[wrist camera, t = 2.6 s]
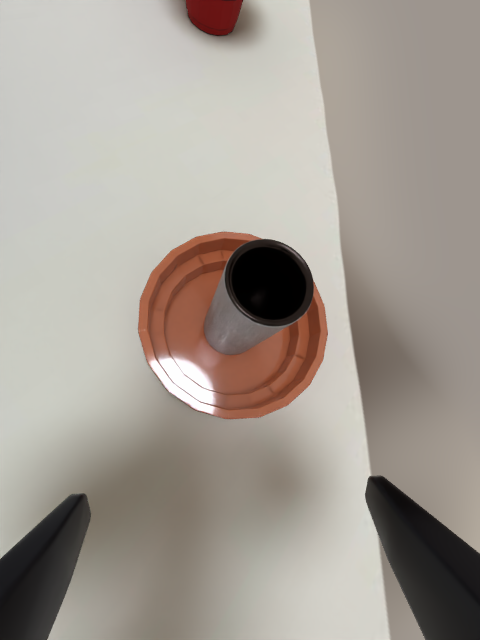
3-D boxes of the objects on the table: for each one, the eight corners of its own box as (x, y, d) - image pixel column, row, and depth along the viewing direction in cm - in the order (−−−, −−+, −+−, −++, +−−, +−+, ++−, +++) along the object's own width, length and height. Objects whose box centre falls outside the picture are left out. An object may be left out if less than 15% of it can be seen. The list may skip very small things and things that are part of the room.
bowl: (310, 409, 23) (337, 412, 19) (140, 419, 20) (132, 425, 16) (296, 262, 26) (316, 240, 22) (149, 250, 23) (144, 223, 19)
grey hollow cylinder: (241, 295, 23) (287, 226, 14) (265, 341, 23) (331, 304, 13) (194, 315, 22) (207, 254, 12) (218, 365, 21) (252, 343, 12)
